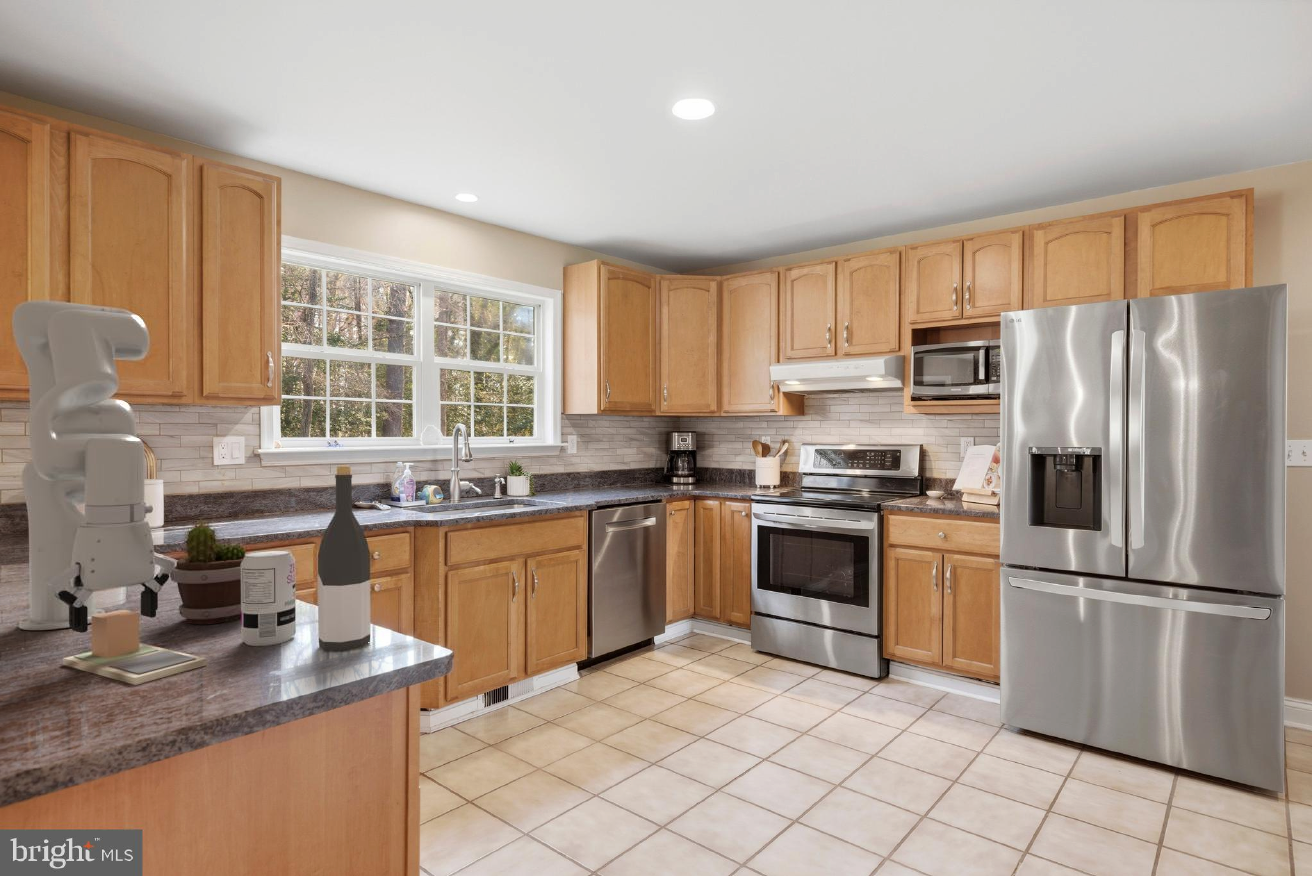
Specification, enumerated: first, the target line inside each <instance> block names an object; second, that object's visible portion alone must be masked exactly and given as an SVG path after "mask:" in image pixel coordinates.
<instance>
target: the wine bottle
mask: <svg viewBox="0 0 1312 876" xmlns="http://www.w3.org/2000/svg"><path fill="white" fill-rule="evenodd" d="M352 478H353V474H351V465H337V466H336V474H334V479H335V513H334V514H333V517H332V518H331V520H330V522H329V524H328V526H327V527H326V529H325V531H324V533H323V536H322V539H321V541H320V546H319V548H318V553H317V603H318V604H317V609H318V611H317V612H318V613H317V614H318V616H317V618H318V622H317V623H318V624H317V625H318V633H317V635H318V639H317V640H318V647H319V648H320V649H321V650H322V649H323V651H324V652H347V651H351V649H353V650H357V649H362V648H364V647H365V646H367V645H369V644H368V642H370V643H371V551H370V547H369V544H368V543H369V542H368V540H367V538H366V535H365V533H364V530H363V528H362V526H361V524H360V523H359V521H358V519H357V518H356V516H355V514H354V512H353V508H352V507H353V506H352V505H353V504H352V499H353V498H352V497H353V496H352V495H353V494H352V493H353V492H352V491H353V490H352V488H353V487H352V485H353V484H352ZM366 644H367V645H366ZM364 645H365V646H364ZM361 647H362V648H361Z"/></svg>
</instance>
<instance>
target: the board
mask: <svg viewBox="0 0 1312 876" xmlns="http://www.w3.org/2000/svg"><path fill="white" fill-rule="evenodd" d="M207 660H208V659H207V658H206V657H202V656H198V655H197V656H196V655H195V654H194V655H193V654H190V653H189V654H188V653H186V652H181V651H177V650H171V649H167V648H164V647H158V646H154V645H150V644H145V643H141V642H139V651H135V652H131V653H127V654H123V655H119V656H115V657H111V658H104V657H101V656H97V655H93V654H92V651H88V652H83V653H80V654H76V655H71V656H67V657H63V658H62V665H63V666H66V667H70V668H74V669H77V670H79V671H84V672H88V673H90V674H91V673H92V674H96V675H98V676H101V677H106V678H110V679H113V680H116V681H120V682H123V683H126V684H127V683H128V684H130V685H135V686H137V685H140V684H143V683H147V682H148V683H149V682H150V681H154V680H158V679H161V678H165V677H169V676H172V675H173V676H174V675H175V674H180V673H182V672H187V671H189V670H193V669H197V668H201V667H204V666H207V665H208V664H207V663H208V662H207Z"/></svg>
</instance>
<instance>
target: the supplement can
mask: <svg viewBox="0 0 1312 876" xmlns="http://www.w3.org/2000/svg"><path fill="white" fill-rule="evenodd" d="M246 553H247V554H245V557H244V559H243V561H242V562H241V618H240V623H241V625H240V633H241V634H240V635H241V637H240V638H241V641H242V642H244V643H245V645H247V646H250V647H251V646H253V647H267V646H273V645H279V644H282V643H285V642H288V641H290V640H292V637H294V636H295V635H296V633H297V632H296V631H297V627H296V626H297V623H296V620H297V619H296V618H297V617H296V559H295V557H294V555H293V554H292V551H291V550H288V549H269V550H268V549H267V550H256V551H251V552H250V551H249V552H246Z"/></svg>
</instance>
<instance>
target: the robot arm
mask: <svg viewBox="0 0 1312 876" xmlns="http://www.w3.org/2000/svg"><path fill="white" fill-rule="evenodd" d="M11 319H12V323H11V324H12V331H13V332H12V335H13V338H14V340H15V341H14V342H15V344H16V347H17V349H18V352H19V355H20V356H21V358H22V360H23V362H24V364H25V367H26V370H27V372H28V378H29V379H28V380H29V381H28V383H29V385H28V386H29V388H28V389H29V413H30V415H29V416H30V417H29V423H28V438H29V444H30V452H31V457H32V459H31V460H29V461H28V462H27V463H26V464H25V465H24V466H23V468H22V472H21V484H22V488H23V494H24V498H25V503H26V509H27V519H28V521H27V522H28V547H29V548H28V549H29V550H28V554H29V555H28V557H29V558H28V559H29V562H28V563H29V565H28V566H29V568H28V569H29V571H28V573H29V616H27V617H24V618H22V619H20V620H19V621H18V628H19V629H20V630H26V631H49V630H59V629H67V628H71V631H74V632H77V633H81V634H82V633H86V632H88V630H89V629H88V628H89V627H88V626H89V625H88V624H92V623H91V616H93V615H98V614H103V613H106V612H105V610H104V609H102V608H96V607H95V599H96V598H95V597H96V595H95V592H101V591H102V592H103V591H109V590H114V589H120V588H125V587H131V586H136V585H140V586H141V588H143V589H144V590H141V592H140V615H141V616H143V617H147V618H150V619H152V618H156V617H157V610H158V609H159V606H158V605H159V601H158V600H159V596H158V595H159V592H161V591H162V588H163V586H164V585H165V584H166V583H167V581H169V579H170V574H171V572H172V570H173V568H174V567H175V566H176V563H175V561H172V560H169V559H166V558H163V557H160V556H157V555H155V548H154V540H153V536H152V535H153V534H152V530H151V527H150V523H149V521H147V520H145V519H146V517H147V516H146V515H147V514H151V513H152V512H153V510H154V509H153V508H154V507H153V505H152V504H146V502H145V445H144V442H143V440H142V439H140V438H138V437H137V435H138V434H137V423H136V417H135V413H134V411H133V408H132V407H131V405H130V404H129V403H127V402H125V400H121V399H118V398H117V399H115V398H111V397H113V396H114V395H115V394H116V393H117V391H118V390H119V387H120V380H119V375H118V372H117V367H116V363H115V360H120V361H121V360H123V361H140V360H142V359H144V358H146V356H147V355H148V353H149V349H150V343H151V340H150V334H149V330H148V328H147V325H146V324H145V322H144V321H143V319H142V318H141V317H140V316H139V315H137V314H135V313H133V312H131V311H129V310H127V309H124V308H117V307H110V306H103V305H102V306H100V305H94V304H93V305H92V304H85V303H84V304H83V303H75V302H65V301H57V300H56V301H55V300H28V301H24V302H22V303H19V304H18V305H17V306H16V307H15V308H14V310H13V312H12V318H11ZM79 505H84V514H83V513H82V512H81V511H80V510H79V509H78V508H77V506H79ZM156 566H159V567H160V569H159V573H157V574H156V575H155V571H156Z"/></svg>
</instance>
